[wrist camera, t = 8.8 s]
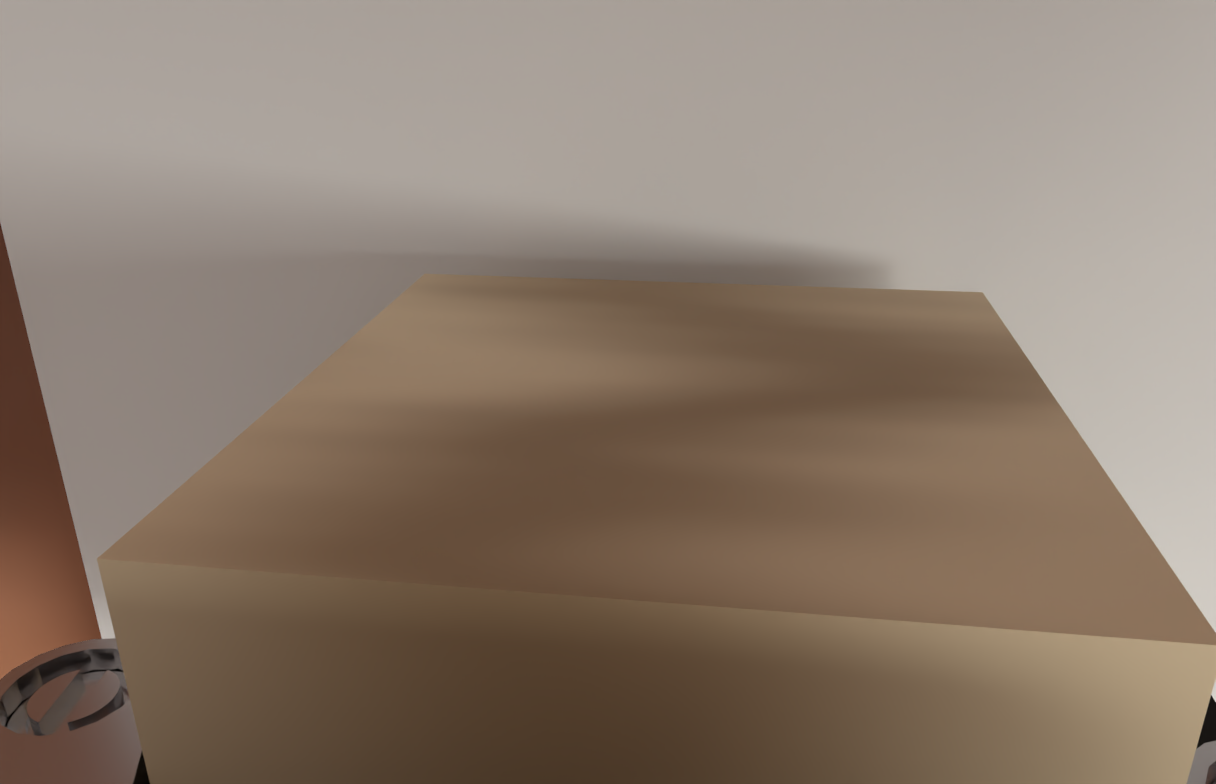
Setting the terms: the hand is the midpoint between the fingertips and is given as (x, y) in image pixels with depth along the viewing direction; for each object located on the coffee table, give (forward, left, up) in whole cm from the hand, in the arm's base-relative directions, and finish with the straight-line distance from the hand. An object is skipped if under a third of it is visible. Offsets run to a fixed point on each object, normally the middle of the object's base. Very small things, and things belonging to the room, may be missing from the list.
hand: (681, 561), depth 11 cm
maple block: (0, 0, -1) cm, 1 cm away
